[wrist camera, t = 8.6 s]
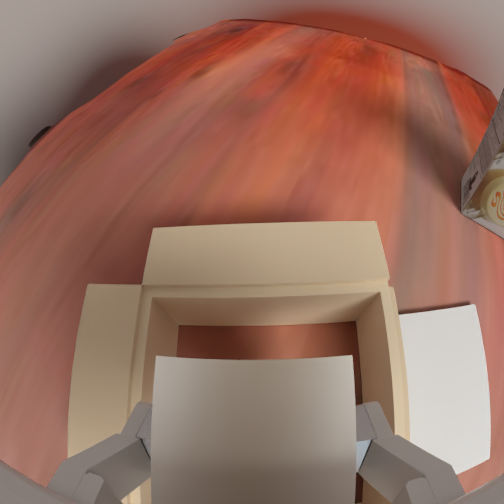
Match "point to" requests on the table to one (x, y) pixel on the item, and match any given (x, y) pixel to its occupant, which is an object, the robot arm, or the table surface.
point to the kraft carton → (235, 315)
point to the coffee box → (487, 177)
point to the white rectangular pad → (447, 385)
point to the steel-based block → (253, 431)
